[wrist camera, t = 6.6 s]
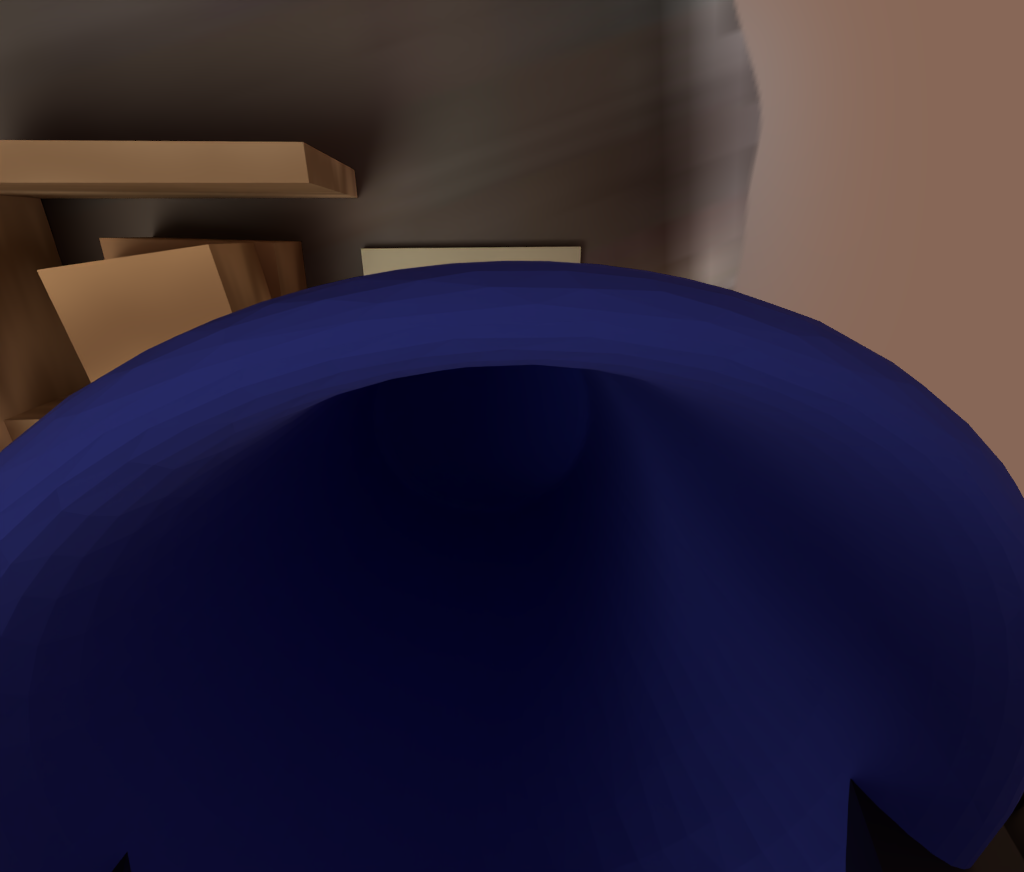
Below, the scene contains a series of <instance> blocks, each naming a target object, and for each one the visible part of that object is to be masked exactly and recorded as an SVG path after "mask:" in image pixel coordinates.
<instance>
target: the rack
mask: <svg viewBox="0 0 1024 872" xmlns="http://www.w3.org/2000/svg"><path fill="white" fill-rule="evenodd" d="M40 198H358V197H357V188H356V179H355V170H353V169H352V168H350V167H348V166H346V165H344V164H342V163H341V162H339V161H337V160H335V159H333V158H332V157H330V156H328V155H326V154H324V153H322V152H321V151H319V150H317V149H315V148H313V147H311V146H310V145H308V144H306V143H304V142H228V141H68V140H0V452H1V451H2V450H3V449H4V448H5V447H7V446H8V445H9V444H10V443H11V442H13V441H14V440H15V439H16V438H18V437H19V436H20V435H21V434H23V433H24V432H25V431H26V430H27V429H29V428H30V427H31V426H32V425H34V424H35V423H36V422H37V421H38V420H40V419H41V418H42V417H43V416H45V415H46V414H47V413H48V412H50V411H51V410H52V409H53V408H54V407H56V406H57V405H58V404H59V403H61V402H62V401H63V400H64V399H66V398H67V397H68V396H70V395H72V394H73V393H75V392H77V391H78V390H80V389H82V388H83V387H85V386H87V385H88V384H90V383H91V382H90V380H89V377H88V375H87V373H86V371H85V369H84V367H83V365H82V363H81V361H80V359H79V357H78V355H77V353H76V351H75V348H74V346H73V344H72V342H71V340H70V338H69V336H68V334H67V332H66V330H65V328H64V326H63V324H62V322H61V319H60V317H59V315H58V313H57V311H56V309H55V307H54V305H53V303H52V301H51V299H50V297H49V295H48V292H47V290H46V288H45V286H44V284H43V282H42V280H41V278H40V276H39V274H38V272H37V270H40V269H47V268H53V267H60V266H62V263H61V260H60V257H59V254H58V251H57V248H56V245H55V242H54V239H53V236H52V232H51V229H50V226H49V223H48V220H47V217H46V214H45V211H44V208H43V205H42V202H41V199H40Z"/></svg>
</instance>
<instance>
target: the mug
mask: <svg viewBox="0 0 1024 872" xmlns="http://www.w3.org/2000/svg"><path fill="white" fill-rule="evenodd" d="M850 778H851V779H852V780H853V781H854V782H855V783H856V784H857V785H858V786H859V787H860V789H861V790H862V791H863V792H864V793H865V794H866V795H867V796H868V797H869V798H870V799H871V800H872V801H873V802H874V803H875V804H876V805H877V806H878V807H879V808H880V809H881V810H882V811H883V812H885V813H886V814H887V815H888V816H889V817H890V818H891V819H892V820H893V821H895V822H896V823H897V824H898V825H899V826H900V827H901V828H902V829H903V830H904V831H905V832H906V833H907V834H908V835H910V836H911V837H912V838H913V839H915V840H916V841H917V842H919V843H920V844H921V845H922V846H924V847H925V848H926V849H927V850H928V851H930V852H931V853H932V854H933V855H935V856H936V857H938V858H940V859H941V860H943V861H945V862H946V863H948V864H949V865H951V866H954V867H957V868H961V869H969V868H971V867H972V865H973V864H974V863H975V861H976V860H977V859H978V857H979V856H980V855H981V854H982V852H983V851H984V850H985V848H986V847H987V846H988V844H989V843H990V842H991V840H992V839H993V838H994V837H995V835H996V834H997V833H998V831H999V830H1000V829H1001V827H1002V826H1003V825H1004V823H1005V822H1006V821H1007V819H1008V818H1009V817H1010V815H1011V814H1012V812H1013V811H1014V809H1015V807H1016V805H1017V804H1018V802H1019V800H1020V799H1021V797H1022V795H1023V792H1024V498H1023V496H1022V495H1021V493H1020V491H1019V489H1018V487H1017V485H1016V484H1015V482H1014V480H1013V479H1012V477H1011V476H1010V474H1009V473H1008V471H1007V469H1006V468H1005V466H1004V465H1003V463H1002V462H1001V461H1000V460H999V459H998V458H997V456H996V455H995V454H994V453H993V452H992V451H991V450H990V448H989V447H988V446H987V445H986V444H985V443H984V442H983V441H982V439H981V438H980V437H979V436H978V435H977V434H976V432H975V431H974V430H973V429H972V428H971V427H970V426H969V424H968V423H967V422H965V421H964V420H963V419H962V418H961V417H959V416H958V415H957V414H956V413H955V412H953V411H952V410H951V409H950V408H949V407H948V406H947V405H945V404H944V403H943V402H942V401H941V400H940V399H939V398H937V397H936V396H935V395H934V394H932V392H930V391H929V390H928V389H927V388H926V387H924V386H923V385H922V384H921V383H919V382H918V381H917V380H915V379H914V378H913V377H911V376H910V375H909V374H907V373H906V372H905V371H903V370H902V369H901V368H899V367H898V366H897V365H895V364H894V363H893V362H891V361H889V360H887V359H885V358H884V357H882V356H880V355H878V354H877V353H875V352H873V351H871V350H870V349H868V348H866V347H864V346H862V345H861V344H859V343H857V342H855V341H854V340H852V339H850V338H848V337H847V336H845V335H843V334H841V333H839V332H838V331H836V330H834V329H832V328H831V327H829V326H827V325H825V324H824V323H822V322H820V321H817V320H815V319H812V318H809V317H807V316H804V315H801V314H798V313H796V312H793V311H790V310H787V309H785V308H782V307H779V306H776V305H773V304H770V303H767V302H765V301H762V300H759V299H756V298H753V297H750V296H747V295H744V294H741V293H739V292H736V291H733V290H729V289H725V288H721V287H717V286H713V285H710V284H706V283H702V282H698V281H694V280H690V279H686V278H681V277H676V276H671V275H666V274H661V273H656V272H651V271H644V270H637V269H629V268H622V267H615V266H607V265H600V264H586V263H571V262H555V261H488V262H467V263H449V264H441V265H432V266H424V267H415V268H406V269H398V270H392V271H387V272H381V273H375V274H370V275H364V276H359V277H353V278H349V279H345V280H340V281H336V282H332V283H327V284H323V285H319V286H314V287H311V288H307V289H304V290H300V291H297V292H294V293H290V294H287V295H283V296H280V297H276V298H273V299H270V300H266V301H263V302H260V303H257V304H254V305H252V306H249V307H246V308H244V309H241V310H238V311H236V312H233V313H230V314H228V315H225V316H222V317H219V318H217V319H214V320H212V321H209V322H207V323H205V324H203V325H200V326H198V327H196V328H194V329H191V330H189V331H187V332H184V333H182V334H180V335H178V336H175V337H173V338H171V339H169V340H167V341H165V342H163V343H160V344H158V345H156V346H154V347H152V348H150V349H148V350H146V351H144V352H142V353H140V354H139V355H137V356H135V357H134V358H132V359H130V360H129V361H127V362H125V363H124V364H122V365H120V366H119V367H117V368H115V369H114V370H112V371H110V372H108V373H107V374H105V375H103V376H102V377H100V378H98V379H97V380H95V381H93V382H92V383H90V384H88V385H87V386H85V387H83V388H82V389H80V390H78V391H77V392H75V393H73V394H72V395H70V396H68V397H67V398H66V399H64V400H63V401H62V402H61V403H59V404H58V405H57V406H56V407H54V408H53V409H52V410H51V411H50V412H48V413H47V414H46V415H45V416H43V417H42V418H41V419H40V420H38V421H37V422H36V423H35V424H34V425H32V426H31V427H30V428H29V429H27V430H26V431H25V432H24V433H23V434H21V435H20V436H19V437H18V438H16V439H15V440H14V441H13V442H11V443H10V444H9V445H8V446H7V447H5V448H4V449H3V450H2V451H1V452H0V872H112V870H113V869H114V868H115V867H116V865H117V864H118V863H119V861H120V860H121V859H122V858H123V856H124V855H125V854H126V853H127V852H128V857H129V863H130V868H131V872H846V844H847V819H848V798H849V786H850Z"/></svg>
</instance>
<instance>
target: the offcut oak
mask: <svg viewBox="0 0 1024 872" xmlns="http://www.w3.org/2000/svg"><path fill="white" fill-rule="evenodd" d="M37 272H38V274H39V276H40V278H41V280H42V282H43V284H44V286H45V288H46V290H47V292H48V295H49V297H50V299H51V301H52V303H53V305H54V307H55V309H56V311H57V313H58V315H59V317H60V319H61V322H62V324H63V326H64V328H65V330H66V332H67V334H68V336H69V338H70V340H71V342H72V344H73V346H74V348H75V351H76V353H77V355H78V357H79V359H80V361H81V363H82V365H83V367H84V369H85V371H86V373H87V375H88V377H89V380H90V382H91V383H92V382H93V381H95V380H97V379H98V378H100V377H102V376H103V375H105V374H107V373H108V372H110V371H112V370H114V369H115V368H117V367H119V366H120V365H122V364H124V363H125V362H127V361H129V360H130V359H132V358H134V357H135V356H137V355H139V354H140V353H142V352H144V351H146V350H148V349H150V348H152V347H154V346H156V345H158V344H160V343H163V342H165V341H167V340H169V339H171V338H173V337H175V336H178V335H180V334H182V333H184V332H187V331H189V330H191V329H194V328H196V327H198V326H200V325H203V324H205V323H207V322H209V321H212V320H214V319H217V318H219V317H222V316H225V315H228V314H230V313H233V312H236V311H238V310H241V309H244V308H246V307H249V306H252V305H254V304H257V303H260V302H263V301H266V300H270V299H271V295H270V292H269V289H268V286H267V283H266V280H265V276H264V273H263V270H262V267H261V264H260V261H259V258H258V254H257V251H256V248H255V245H254V243H232V244H207V245H201V246H194V247H187V248H180V249H174V250H167V251H160V252H154V253H147V254H140V255H134V256H127V257H120V258H114V259H107V260H100V261H93V262H87V263H80V264H73V265H67V266H60V267H53V268H47V269H40V270H37Z"/></svg>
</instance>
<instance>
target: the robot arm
mask: <svg viewBox="0 0 1024 872" xmlns="http://www.w3.org/2000/svg"><path fill="white" fill-rule="evenodd" d="M112 872H131V868H130V863H129V857H128V852H127V853H126V854H125V855H124V856H123V858H122V859H121V860H120V861H119V863H118V864H117V865H116V867H115V868H114V869H113V870H112ZM846 872H1024V792H1023V795H1022V797H1021V799H1020V800H1019V802H1018V804H1017V805H1016V807H1015V809H1014V811H1013V812H1012V814H1011V815H1010V817H1009V818H1008V819H1007V821H1006V822H1005V823H1004V825H1003V826H1002V827H1001V829H1000V830H999V831H998V833H997V834H996V835H995V837H994V838H993V839H992V840H991V842H990V843H989V844H988V846H987V847H986V848H985V850H984V851H983V852H982V854H981V855H980V856H979V857H978V859H977V860H976V861H975V863H974V864H973V865H972V867H971V868H969V869H961V868H957V867H954V866H951V865H949V864H948V863H946V862H945V861H943V860H941V859H940V858H938V857H936V856H935V855H933V854H932V853H931V852H930V851H928V850H927V849H926V848H925V847H924V846H922V845H921V844H920V843H919V842H917V841H916V840H915V839H913V838H912V837H911V836H910V835H908V834H907V833H906V832H905V831H904V830H903V829H902V828H901V827H900V826H899V825H898V824H897V823H896V822H895V821H893V820H892V819H891V818H890V817H889V816H888V815H887V814H886V813H885V812H883V811H882V810H881V809H880V808H879V807H878V806H877V805H876V804H875V803H874V802H873V801H872V800H871V799H870V798H869V797H868V796H867V795H866V794H865V793H864V792H863V791H862V790H861V789H860V787H859V786H858V785H857V784H856V783H855V782H854V781H853V780H852V779H851V778H850V786H849V798H848V819H847V844H846Z"/></svg>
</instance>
